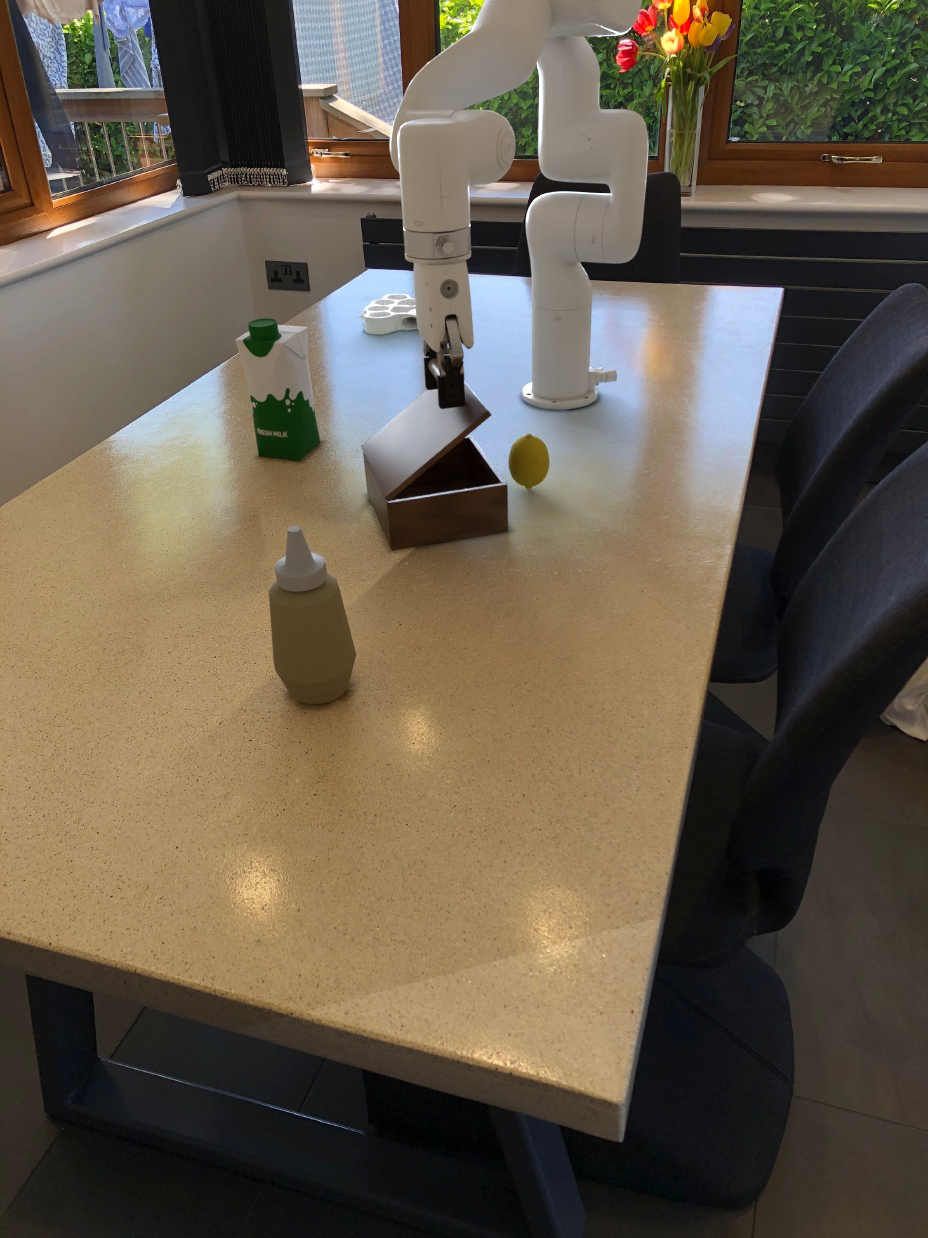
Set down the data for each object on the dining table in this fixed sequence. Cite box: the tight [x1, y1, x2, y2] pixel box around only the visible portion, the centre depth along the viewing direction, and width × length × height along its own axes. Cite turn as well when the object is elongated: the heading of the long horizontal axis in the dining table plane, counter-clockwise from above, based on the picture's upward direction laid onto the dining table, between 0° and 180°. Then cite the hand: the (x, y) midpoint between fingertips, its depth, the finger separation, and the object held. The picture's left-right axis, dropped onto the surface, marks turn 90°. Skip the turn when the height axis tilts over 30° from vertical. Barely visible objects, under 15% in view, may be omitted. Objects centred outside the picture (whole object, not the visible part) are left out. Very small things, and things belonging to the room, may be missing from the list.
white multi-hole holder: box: [357, 293, 418, 336], centre depth 193 cm, size 3×18×15 cm
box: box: [362, 435, 509, 552], centre depth 120 cm, size 15×16×7 cm
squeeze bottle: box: [268, 525, 357, 705], centre depth 87 cm, size 8×8×18 cm
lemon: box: [508, 433, 550, 490], centre depth 125 cm, size 6×6×8 cm
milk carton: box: [234, 317, 322, 462], centre depth 136 cm, size 9×9×20 cm
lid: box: [360, 358, 492, 502], centre depth 114 cm, size 16×16×6 cm
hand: (444, 395), depth 114 cm, fingers closed on lid, 6 cm apart
